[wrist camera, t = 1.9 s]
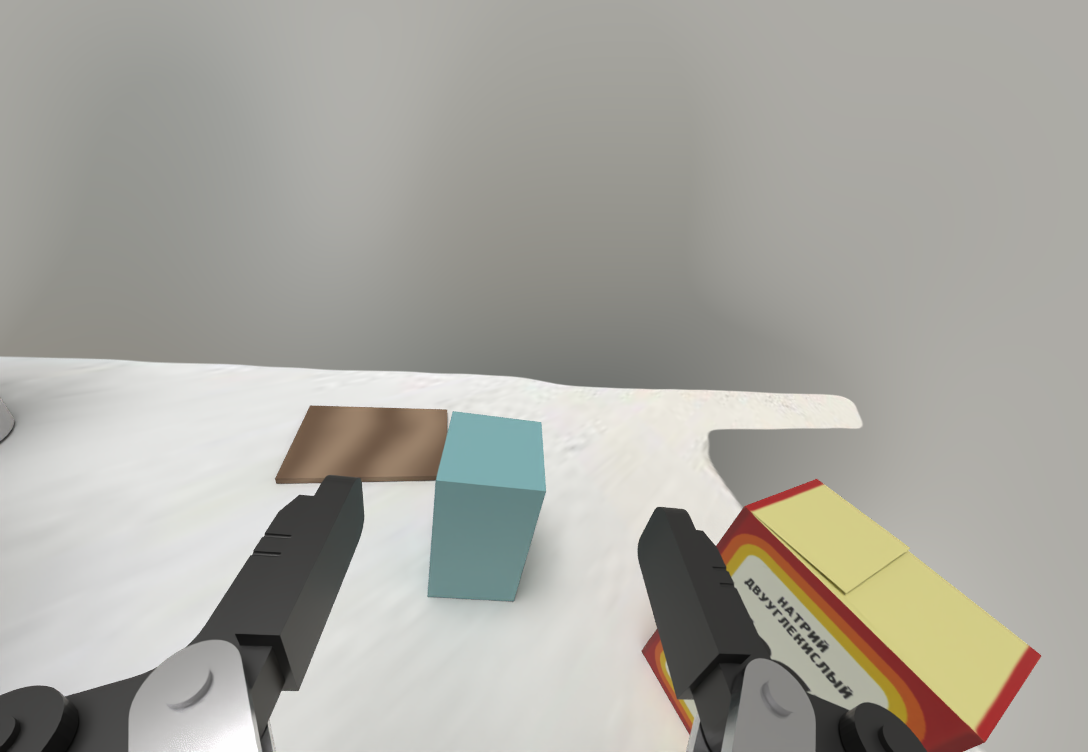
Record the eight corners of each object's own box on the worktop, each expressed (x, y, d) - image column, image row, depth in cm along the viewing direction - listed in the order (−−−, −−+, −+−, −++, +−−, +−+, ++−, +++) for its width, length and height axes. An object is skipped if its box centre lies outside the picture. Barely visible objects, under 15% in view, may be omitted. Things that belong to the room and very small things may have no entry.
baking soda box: (818, 771, 23) (1049, 651, 15) (751, 841, 20) (994, 738, 12) (704, 616, 30) (820, 474, 22) (641, 650, 27) (747, 501, 19)
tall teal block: (427, 596, 27) (435, 480, 21) (442, 522, 32) (452, 411, 26) (513, 601, 28) (545, 491, 22) (514, 528, 33) (541, 422, 27)
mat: (276, 483, 32) (275, 478, 32) (310, 410, 40) (310, 405, 40) (446, 480, 36) (446, 475, 36) (446, 413, 44) (447, 409, 44)
